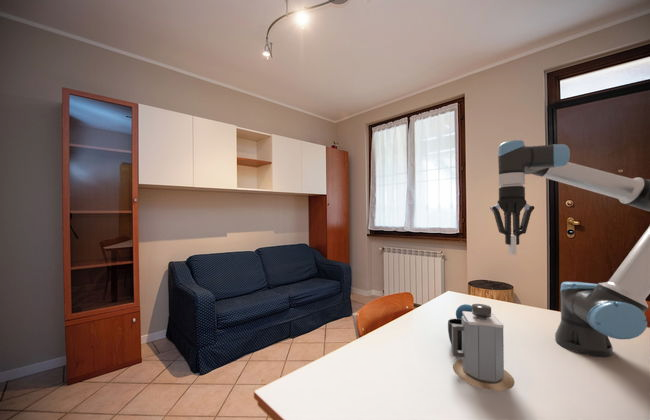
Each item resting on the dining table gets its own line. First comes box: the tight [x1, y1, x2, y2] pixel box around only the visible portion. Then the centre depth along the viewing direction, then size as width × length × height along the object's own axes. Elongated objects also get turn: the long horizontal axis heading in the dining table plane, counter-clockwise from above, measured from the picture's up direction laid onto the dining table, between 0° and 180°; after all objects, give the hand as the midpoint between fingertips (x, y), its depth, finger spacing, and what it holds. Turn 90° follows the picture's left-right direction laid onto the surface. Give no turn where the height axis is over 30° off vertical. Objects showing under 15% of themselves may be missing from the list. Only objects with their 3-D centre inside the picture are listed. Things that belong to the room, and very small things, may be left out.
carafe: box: [451, 311, 505, 384], centre depth 82 cm, size 13×10×17 cm
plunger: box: [471, 303, 492, 319], centre depth 82 cm, size 8×8×12 cm
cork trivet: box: [452, 358, 515, 392], centre depth 82 cm, size 16×16×1 cm
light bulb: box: [455, 303, 472, 319], centre depth 108 cm, size 8×8×12 cm
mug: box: [447, 318, 462, 351], centre depth 97 cm, size 8×12×10 cm
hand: (512, 254), depth 94 cm, fingers closed
